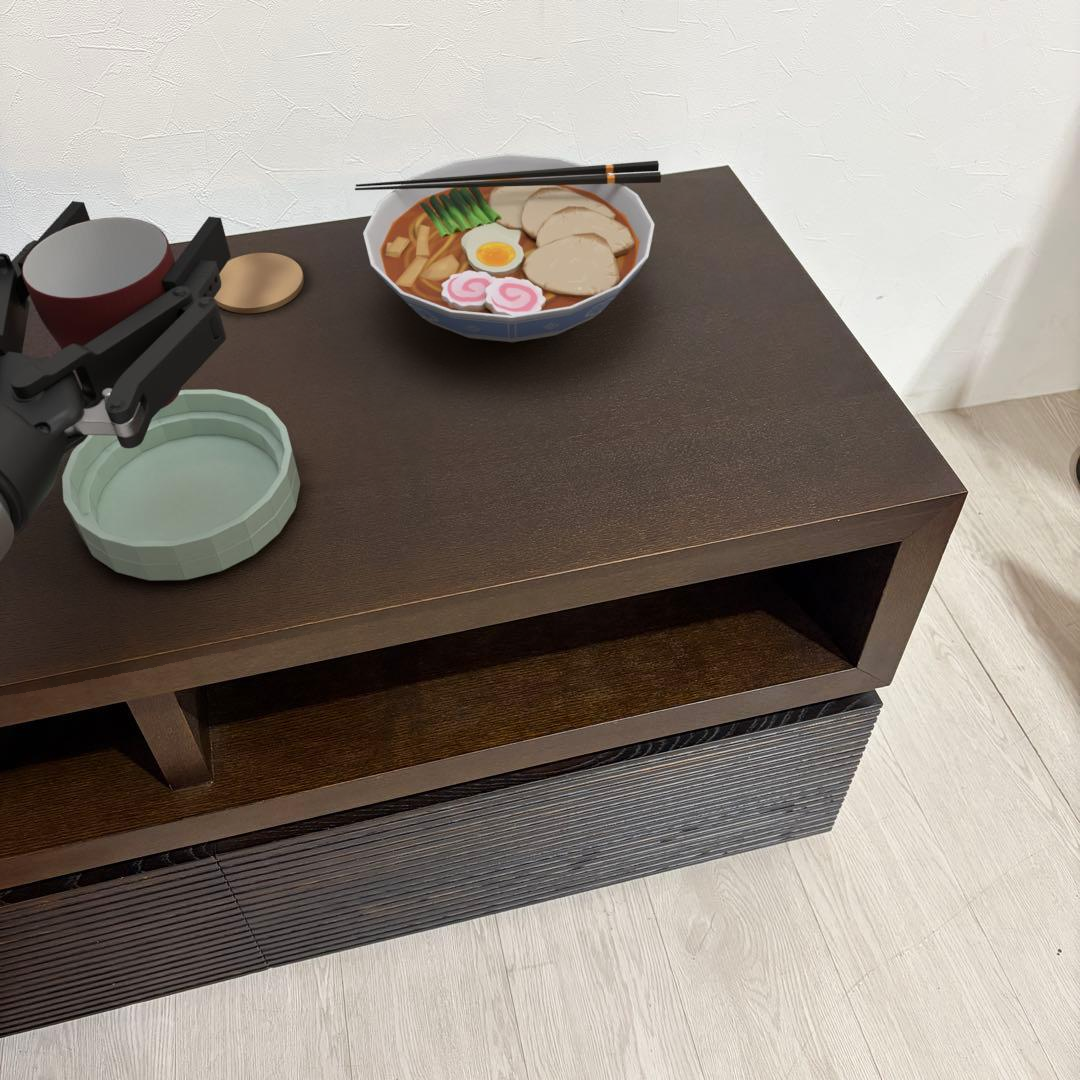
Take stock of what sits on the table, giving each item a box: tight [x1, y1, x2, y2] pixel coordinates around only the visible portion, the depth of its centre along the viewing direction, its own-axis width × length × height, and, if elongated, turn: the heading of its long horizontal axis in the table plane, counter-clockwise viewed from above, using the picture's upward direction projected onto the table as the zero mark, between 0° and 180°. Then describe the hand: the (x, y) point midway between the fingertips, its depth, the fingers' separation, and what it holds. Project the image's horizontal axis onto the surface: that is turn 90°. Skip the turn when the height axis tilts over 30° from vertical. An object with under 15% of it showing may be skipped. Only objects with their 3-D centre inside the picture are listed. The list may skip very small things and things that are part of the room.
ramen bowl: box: [354, 153, 662, 343], centre depth 88 cm, size 25×23×8 cm
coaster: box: [214, 252, 305, 314], centre depth 94 cm, size 8×8×1 cm
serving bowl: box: [61, 388, 301, 581], centre depth 75 cm, size 15×15×4 cm
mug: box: [22, 216, 182, 409], centre depth 66 cm, size 10×8×10 cm
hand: (151, 229), depth 66 cm, fingers closed on mug, 8 cm apart
